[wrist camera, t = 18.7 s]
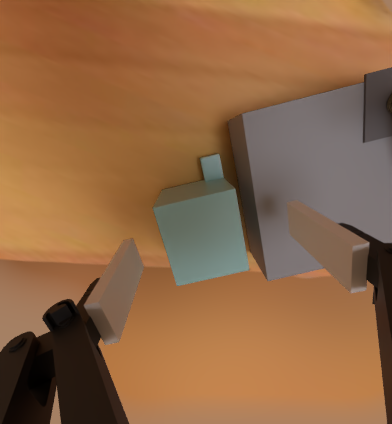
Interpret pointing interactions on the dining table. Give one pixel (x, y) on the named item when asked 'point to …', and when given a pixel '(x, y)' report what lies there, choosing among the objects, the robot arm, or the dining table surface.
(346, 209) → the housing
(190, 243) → the cover
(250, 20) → the dining table surface
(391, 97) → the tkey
